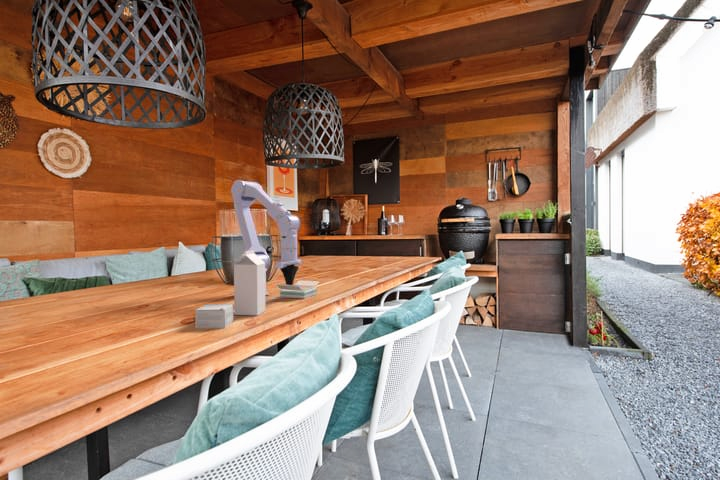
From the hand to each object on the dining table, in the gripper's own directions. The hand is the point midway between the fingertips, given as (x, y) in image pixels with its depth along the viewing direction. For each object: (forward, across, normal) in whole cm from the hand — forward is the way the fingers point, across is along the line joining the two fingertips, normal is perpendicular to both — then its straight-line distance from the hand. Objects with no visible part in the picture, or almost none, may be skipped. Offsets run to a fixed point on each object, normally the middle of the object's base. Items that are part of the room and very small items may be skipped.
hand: (289, 286), depth 144 cm
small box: (+5, -40, 0) cm, 40 cm away
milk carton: (+5, -25, -1) cm, 25 cm away
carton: (+5, +7, 0) cm, 8 cm away
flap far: (+2, +12, 0) cm, 12 cm away
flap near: (+2, +2, 0) cm, 3 cm away
